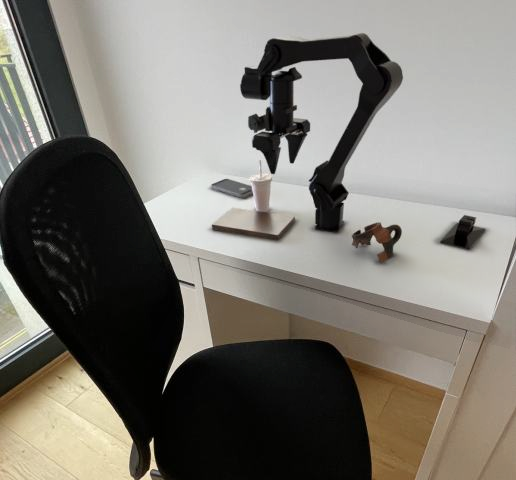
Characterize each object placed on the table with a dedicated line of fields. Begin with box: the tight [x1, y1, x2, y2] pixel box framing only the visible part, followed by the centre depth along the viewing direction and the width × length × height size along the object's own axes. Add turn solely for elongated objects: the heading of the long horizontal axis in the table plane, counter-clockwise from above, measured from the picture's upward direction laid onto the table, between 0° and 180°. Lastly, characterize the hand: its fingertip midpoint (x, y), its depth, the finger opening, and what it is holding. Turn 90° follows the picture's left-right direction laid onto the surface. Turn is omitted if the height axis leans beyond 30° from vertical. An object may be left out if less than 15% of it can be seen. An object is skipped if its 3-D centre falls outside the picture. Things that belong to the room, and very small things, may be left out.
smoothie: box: [249, 159, 273, 213], centre depth 116 cm, size 6×6×14 cm
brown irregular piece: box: [351, 222, 403, 264], centre depth 97 cm, size 12×10×8 cm
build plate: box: [439, 214, 486, 251], centre depth 100 cm, size 12×7×5 cm, turn 142°
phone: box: [210, 178, 253, 199], centre depth 134 cm, size 8×1×16 cm
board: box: [211, 207, 296, 241], centre depth 113 cm, size 20×12×2 cm, turn 65°
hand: (282, 168), depth 108 cm, fingers open, 9 cm apart
